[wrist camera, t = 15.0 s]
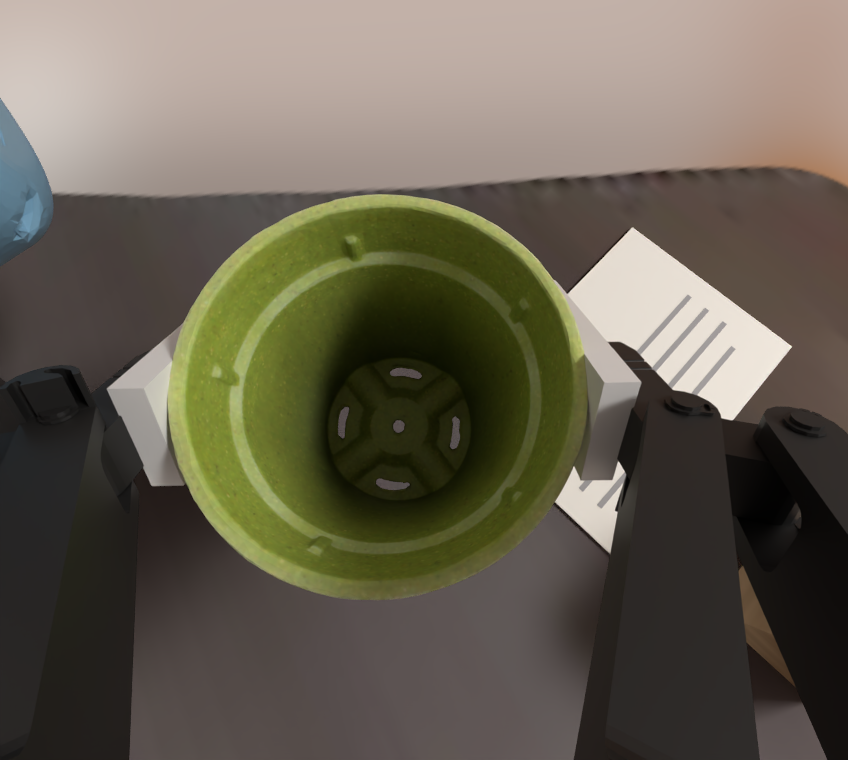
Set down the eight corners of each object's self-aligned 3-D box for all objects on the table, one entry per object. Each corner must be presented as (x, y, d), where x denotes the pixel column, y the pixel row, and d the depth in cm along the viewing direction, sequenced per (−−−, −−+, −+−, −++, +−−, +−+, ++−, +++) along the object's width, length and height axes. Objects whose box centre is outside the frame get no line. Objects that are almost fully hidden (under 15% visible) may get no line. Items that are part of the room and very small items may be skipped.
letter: (456, 409, 26) (456, 408, 25) (631, 228, 29) (632, 227, 28) (617, 560, 23) (618, 561, 23) (789, 347, 26) (792, 346, 26)
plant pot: (303, 314, 19) (210, 180, 11) (514, 327, 19) (585, 202, 11) (271, 535, 17) (121, 582, 9) (509, 552, 17) (596, 618, 8)
